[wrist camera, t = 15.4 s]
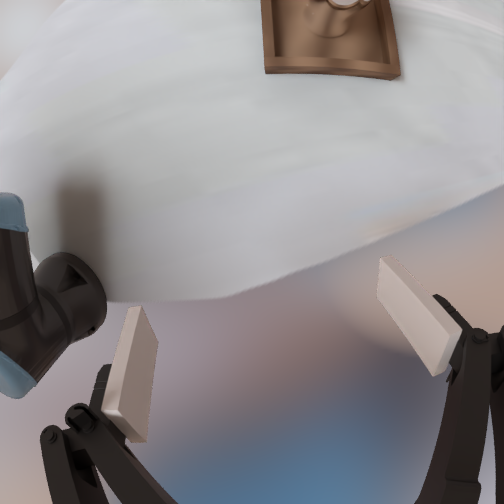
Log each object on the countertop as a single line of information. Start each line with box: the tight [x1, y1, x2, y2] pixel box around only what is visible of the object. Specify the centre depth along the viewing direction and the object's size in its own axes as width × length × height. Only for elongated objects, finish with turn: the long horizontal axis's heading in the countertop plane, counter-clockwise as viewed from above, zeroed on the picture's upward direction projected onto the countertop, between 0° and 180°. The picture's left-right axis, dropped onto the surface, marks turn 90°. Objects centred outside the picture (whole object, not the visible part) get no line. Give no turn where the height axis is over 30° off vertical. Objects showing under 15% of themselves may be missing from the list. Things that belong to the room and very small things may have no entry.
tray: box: [261, 0, 401, 80], centre depth 27 cm, size 16×16×4 cm
